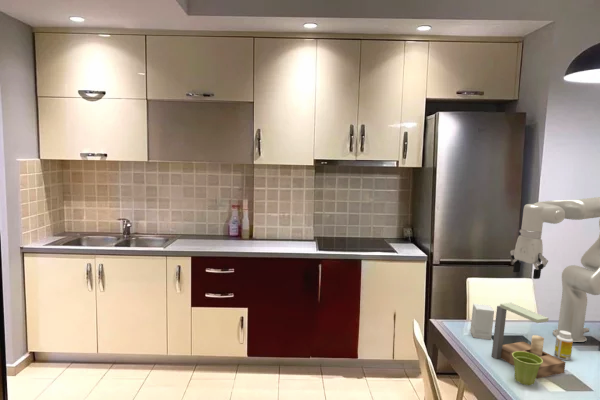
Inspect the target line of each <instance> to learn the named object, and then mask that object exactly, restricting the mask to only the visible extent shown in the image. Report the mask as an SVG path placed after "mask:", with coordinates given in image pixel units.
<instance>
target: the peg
mask: <svg viewBox="0 0 600 400" xmlns="http://www.w3.org/2000/svg"><path fill="white" fill-rule="evenodd" d="M530 343H531V344H530V345H531V349H530V353H532V354H535V355H537V356H539V357H540V356H542V351H544V343H545V338H544V337H543V336H541V335H537V334H535V335H534V334H533V335H531V341H530Z"/></svg>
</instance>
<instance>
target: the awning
mask: <svg viewBox="0 0 600 400" xmlns="http://www.w3.org/2000/svg"><path fill="white" fill-rule="evenodd" d="M507 311H508V312H511V313H513V314H515V315H518V316H520V317H522V318H524V319H527V320H529V321H531V322H534V323H536V324H539V323H546V322H549V319H550V318H549V317H546V316H544V315H543V314H540V313H537V312H536V311H535V312H534V311H532V310H530V309H527V308H524V307H523V306H520V305H519V304H518V305H517V304H515V303H512V302H505V303H500V304H499V305H497V306H496V311H495V312H496V315H495V321H494V332H493V340H492V347H491V348H492V349H491V357H492V358H494V359H495V360H498V359H501V352H502V346H503V345H504V336H505V328H506V319H507Z"/></svg>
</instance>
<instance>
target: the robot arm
mask: <svg viewBox="0 0 600 400" xmlns="http://www.w3.org/2000/svg"><path fill="white" fill-rule="evenodd" d="M596 218H598V219H599V220H598V227H599V229H600V196H596V197H589V198H579V199H565V200H564V199H563V200H561V199H560V200H545V201H538V202H535V203H527V204H525V205H524V206H523V211H522V222H521V229H519V231H518V232H519V233H520V235H518V237H517V240H516V243H515V248H514V249H511V250H510V252H509V253H510V257H511V260H512V263H513V269H512V272H513V273H521V272H520V271H521V262H524V263H527V264H532V265H533V267H534V269H533V274H532V279H533V280H540V278H541V275H542V270H543V269H544V268H545V267H546V266H547V265H548V264H549V260H548V259H547V258H546V257H545V256H544V255H543V253H544V252H543V245H544V244H543V239H542V233H543V224H544V223H547V224H553V225H556V224H560V223H561V222H563V221H564V220H572V221H573V220H574V221H580V220H588V219H596ZM580 263H581V265H582V266H580V265H575V264H574V265H568V266H566V267H565V268H563V270H562V272H561V287H562V288H561V289H562V291H561V300H560V307H559V316H558V322H557V328H556V329H554V330H553V331H552V334H553V336H554V337H555V338H556V337H557V335H559V332H560V331H568V332H570V333H571V338H572V339H573V342H584V341H586V342H587V337H586V336H585V335H584V334H585V333H589V332H590V329H589V327H585V323H586V322H585V321H586V314H587V306H588V295H592V296H600V233H599V234H598V238H597V239H596V240H595V242H594V243H593V244H591V246H590V247H589V248H588V249H587V250H586V251H585V252H584V253H583V255H582V256H581V258H580ZM587 294H588V295H587Z"/></svg>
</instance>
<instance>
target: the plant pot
mask: <svg viewBox="0 0 600 400" xmlns="http://www.w3.org/2000/svg"><path fill="white" fill-rule="evenodd" d="M512 356H513V359H514V365H513V366H514V367H513V368H514V369H513V371H514V380H515V381H516V382H518V383H519V384H521V385H523V386H532V385H534V384H535V383H536V379H537V378H536V376H537V373H538V370H539V367H540V366H541V364H542V363H543V360H542V359H541V358H540V357H539V356H537V355H535V354H532V353H529V352H523V351H516V352H513V353H512Z"/></svg>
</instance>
